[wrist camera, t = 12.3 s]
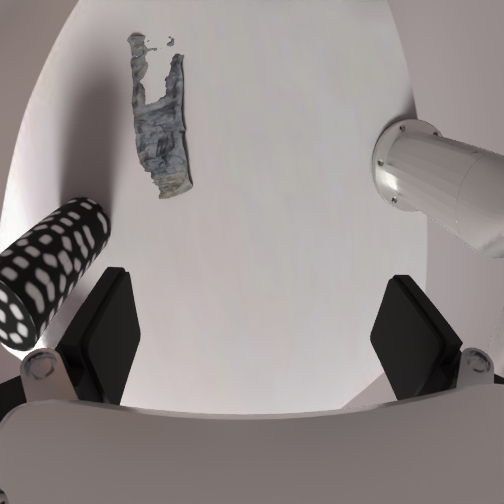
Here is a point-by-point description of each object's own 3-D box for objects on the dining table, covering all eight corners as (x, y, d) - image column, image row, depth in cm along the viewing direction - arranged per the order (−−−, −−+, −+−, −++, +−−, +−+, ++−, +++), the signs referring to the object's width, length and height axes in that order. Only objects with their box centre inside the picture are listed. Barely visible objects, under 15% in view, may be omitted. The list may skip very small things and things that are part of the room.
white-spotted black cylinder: (100, 263, 39) (35, 364, 22) (54, 237, 37) (-27, 321, 19) (119, 214, 36) (40, 306, 19) (68, 186, 34) (-31, 256, 16)
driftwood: (194, 195, 37) (191, 200, 35) (142, 199, 36) (137, 204, 35) (186, 31, 28) (184, 26, 26) (131, 40, 27) (126, 36, 25)
